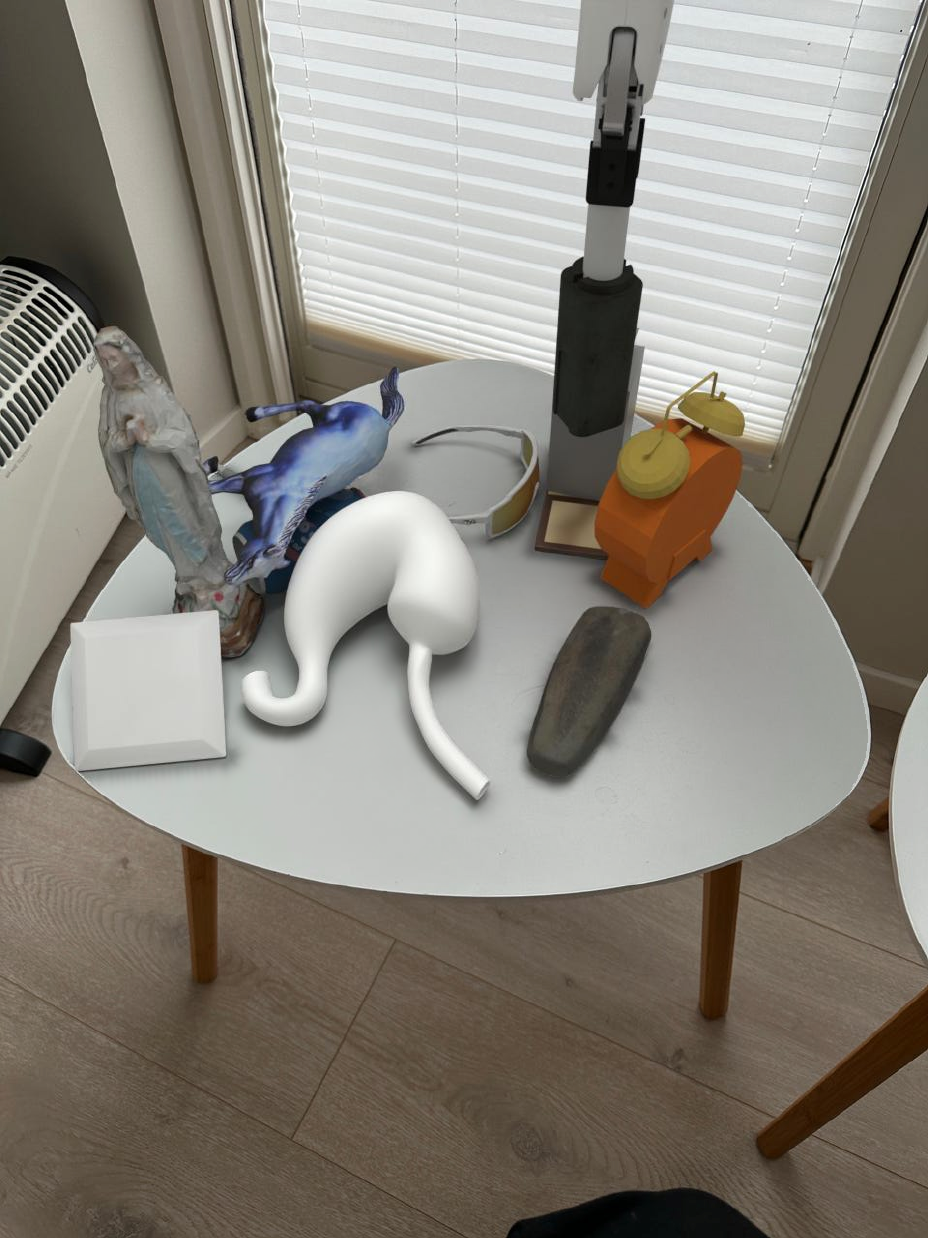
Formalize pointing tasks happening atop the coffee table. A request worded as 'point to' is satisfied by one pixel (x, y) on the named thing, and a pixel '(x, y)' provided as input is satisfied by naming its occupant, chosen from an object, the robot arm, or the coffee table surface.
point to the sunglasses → (516, 500)
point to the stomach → (363, 582)
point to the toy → (306, 471)
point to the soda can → (296, 538)
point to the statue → (168, 487)
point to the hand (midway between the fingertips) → (612, 187)
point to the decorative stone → (587, 688)
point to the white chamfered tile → (147, 690)
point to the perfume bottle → (590, 448)
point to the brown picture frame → (569, 526)
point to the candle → (596, 327)
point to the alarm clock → (669, 495)
